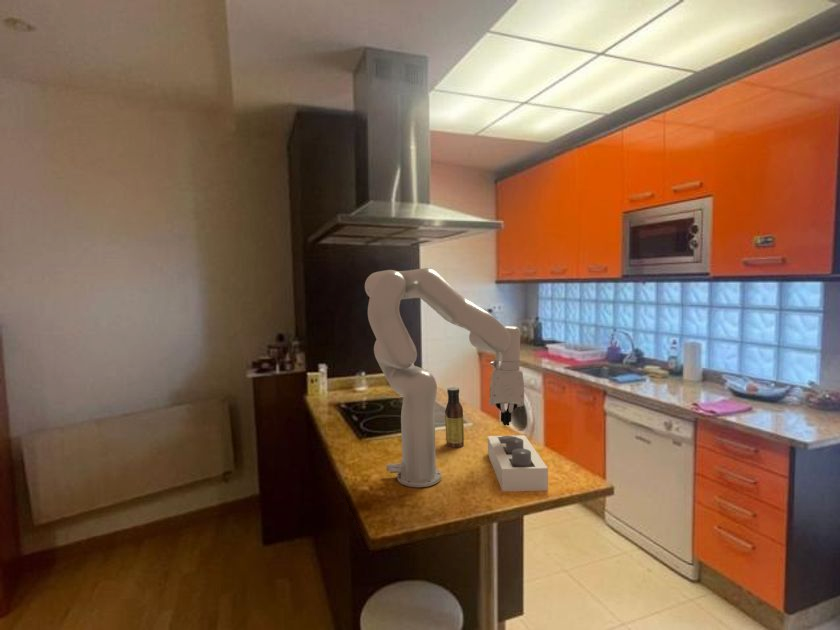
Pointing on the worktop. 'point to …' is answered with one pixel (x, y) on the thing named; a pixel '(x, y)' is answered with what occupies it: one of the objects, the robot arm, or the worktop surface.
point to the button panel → (517, 476)
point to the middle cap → (513, 444)
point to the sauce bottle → (454, 419)
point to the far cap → (503, 438)
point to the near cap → (521, 458)
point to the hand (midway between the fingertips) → (505, 424)
